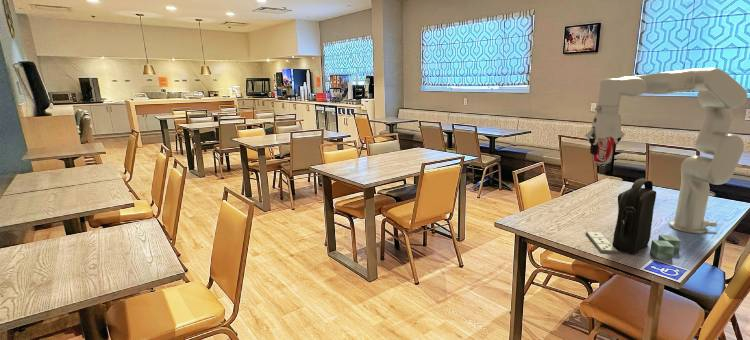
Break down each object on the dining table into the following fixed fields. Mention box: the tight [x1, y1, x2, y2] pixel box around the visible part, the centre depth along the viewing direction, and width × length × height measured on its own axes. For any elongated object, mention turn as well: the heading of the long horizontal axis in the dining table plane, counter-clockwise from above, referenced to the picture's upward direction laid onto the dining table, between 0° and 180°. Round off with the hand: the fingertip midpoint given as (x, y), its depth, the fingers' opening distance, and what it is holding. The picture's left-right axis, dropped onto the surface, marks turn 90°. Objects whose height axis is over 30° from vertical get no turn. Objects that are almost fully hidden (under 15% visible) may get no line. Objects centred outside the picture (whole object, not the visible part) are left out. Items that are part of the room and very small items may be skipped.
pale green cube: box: [657, 234, 682, 254], centre depth 144 cm, size 5×5×5 cm
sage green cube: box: [649, 239, 674, 260], centre depth 139 cm, size 5×5×5 cm
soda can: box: [591, 136, 614, 165], centre depth 155 cm, size 7×7×12 cm
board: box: [585, 231, 619, 254], centre depth 151 cm, size 6×18×1 cm, turn 168°
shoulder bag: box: [611, 177, 657, 256], centre depth 144 cm, size 23×9×28 cm, turn 129°
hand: (602, 153), depth 156 cm, fingers closed on soda can, 7 cm apart
